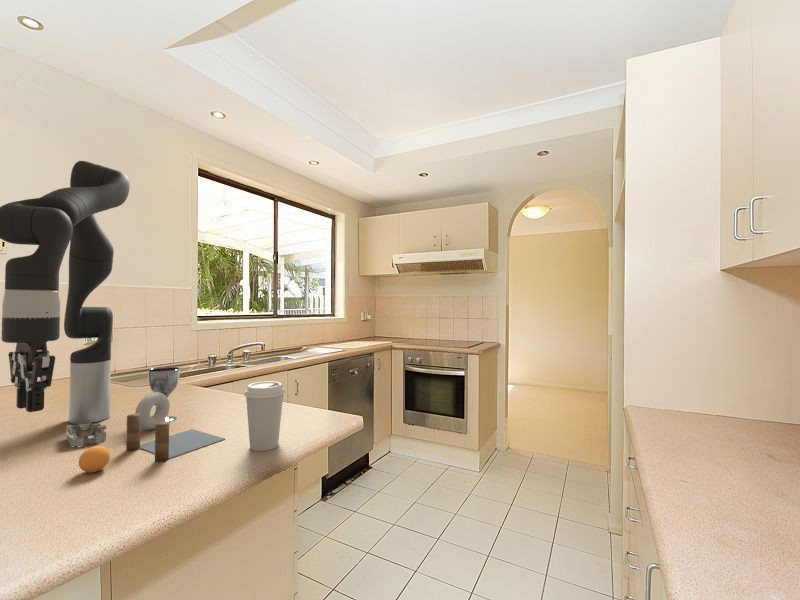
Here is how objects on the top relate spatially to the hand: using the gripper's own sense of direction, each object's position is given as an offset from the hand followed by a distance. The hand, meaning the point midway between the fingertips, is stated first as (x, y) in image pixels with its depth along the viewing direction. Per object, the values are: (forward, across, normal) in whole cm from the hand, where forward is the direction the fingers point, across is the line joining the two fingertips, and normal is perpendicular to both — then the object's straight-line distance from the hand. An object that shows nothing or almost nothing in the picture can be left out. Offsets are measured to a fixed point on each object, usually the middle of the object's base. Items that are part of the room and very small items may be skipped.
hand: (30, 408), depth 67 cm
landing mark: (+15, 0, -28) cm, 32 cm away
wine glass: (+15, +23, -36) cm, 45 cm away
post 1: (+15, +6, -20) cm, 26 cm away
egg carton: (+16, +23, -17) cm, 32 cm away
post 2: (+15, -6, -20) cm, 26 cm away
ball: (+13, 0, -10) cm, 16 cm away
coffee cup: (+15, -19, -37) cm, 44 cm away
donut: (+15, +17, -30) cm, 38 cm away
